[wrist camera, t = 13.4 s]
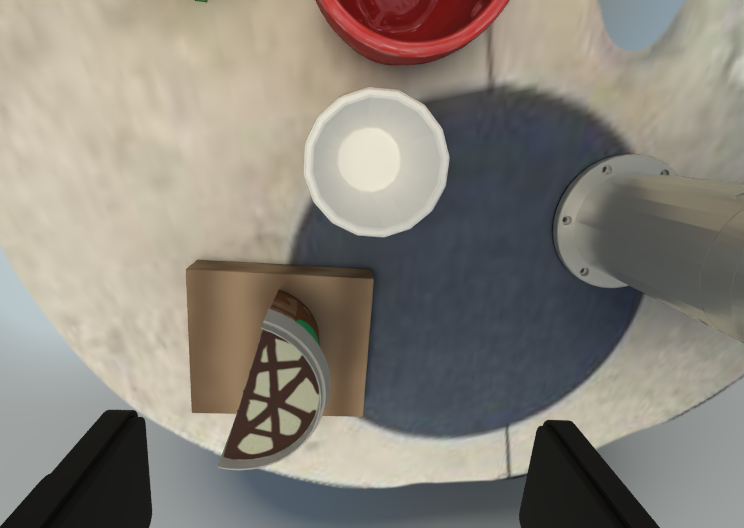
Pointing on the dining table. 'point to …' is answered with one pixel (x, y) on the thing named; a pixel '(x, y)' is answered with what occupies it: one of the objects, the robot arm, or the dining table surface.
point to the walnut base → (243, 329)
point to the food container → (280, 389)
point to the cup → (376, 162)
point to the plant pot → (409, 26)
